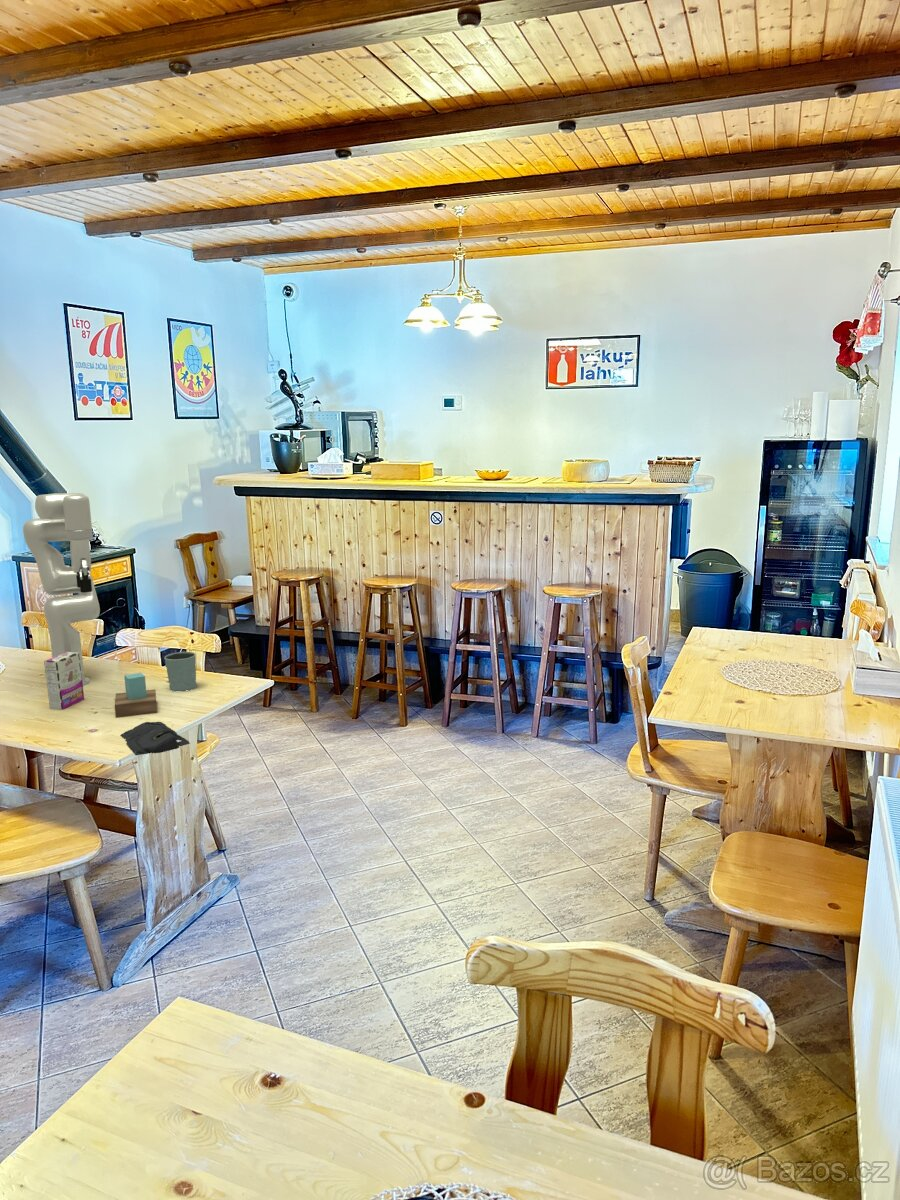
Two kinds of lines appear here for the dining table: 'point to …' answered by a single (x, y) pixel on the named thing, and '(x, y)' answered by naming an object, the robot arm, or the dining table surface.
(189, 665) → the grey green cup
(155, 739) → the dark slate chunk
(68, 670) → the candy bar box
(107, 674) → the dining table surface
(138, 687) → the teal block
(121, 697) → the walnut block
